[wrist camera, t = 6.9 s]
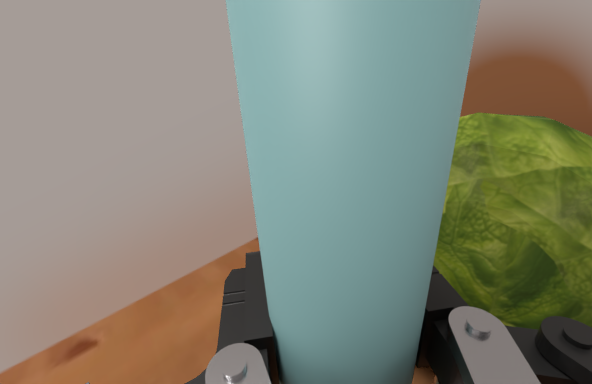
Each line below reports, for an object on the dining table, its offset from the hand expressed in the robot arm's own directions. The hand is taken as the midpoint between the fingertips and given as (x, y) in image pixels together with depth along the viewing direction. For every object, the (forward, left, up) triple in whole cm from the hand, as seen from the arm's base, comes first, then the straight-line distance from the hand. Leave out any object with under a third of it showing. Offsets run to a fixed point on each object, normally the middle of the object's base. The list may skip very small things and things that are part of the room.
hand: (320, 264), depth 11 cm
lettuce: (-18, -1, -13) cm, 23 cm away
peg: (+1, +2, -10) cm, 10 cm away
